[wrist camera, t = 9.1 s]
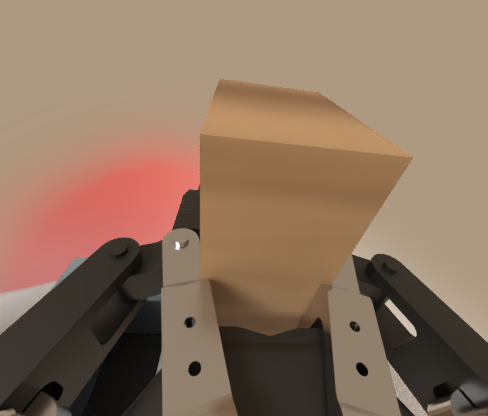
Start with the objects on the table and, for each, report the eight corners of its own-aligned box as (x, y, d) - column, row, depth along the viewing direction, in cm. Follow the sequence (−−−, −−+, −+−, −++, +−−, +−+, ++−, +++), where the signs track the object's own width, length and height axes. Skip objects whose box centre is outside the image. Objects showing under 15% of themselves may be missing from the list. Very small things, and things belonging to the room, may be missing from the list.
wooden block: (277, 368, 12) (413, 157, 4) (199, 368, 11) (200, 134, 4) (264, 271, 16) (318, 92, 9) (210, 268, 16) (219, 78, 8)
